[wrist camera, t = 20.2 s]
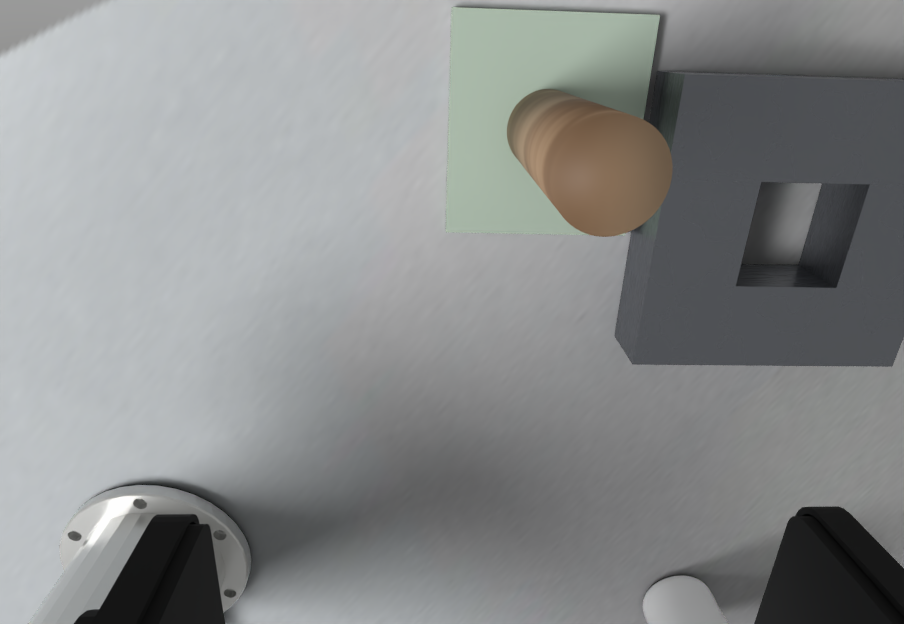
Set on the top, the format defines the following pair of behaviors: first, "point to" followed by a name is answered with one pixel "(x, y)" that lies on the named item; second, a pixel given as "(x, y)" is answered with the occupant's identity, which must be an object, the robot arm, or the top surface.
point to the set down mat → (511, 79)
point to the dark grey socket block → (730, 215)
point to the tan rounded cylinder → (591, 160)
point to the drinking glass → (681, 603)
